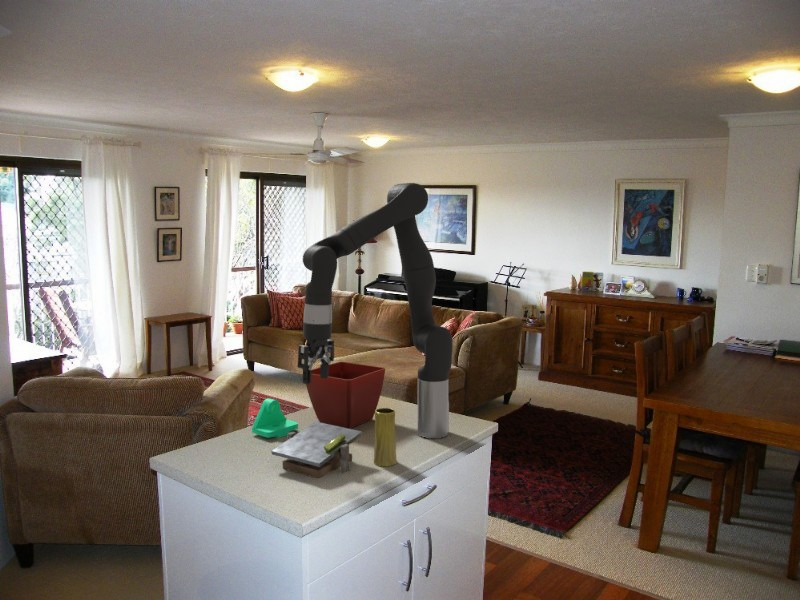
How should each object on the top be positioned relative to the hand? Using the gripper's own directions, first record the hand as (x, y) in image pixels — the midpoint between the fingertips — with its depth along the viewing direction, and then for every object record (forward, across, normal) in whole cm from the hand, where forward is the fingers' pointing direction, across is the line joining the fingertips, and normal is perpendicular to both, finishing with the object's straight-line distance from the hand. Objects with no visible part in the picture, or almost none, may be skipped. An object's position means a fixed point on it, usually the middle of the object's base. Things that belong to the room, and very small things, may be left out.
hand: (315, 380), depth 177 cm
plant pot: (+20, +32, +9) cm, 39 cm away
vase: (+21, +5, -19) cm, 29 cm away
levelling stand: (+21, -4, -4) cm, 22 cm away
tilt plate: (+15, -4, -4) cm, 16 cm away
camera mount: (+22, +13, +21) cm, 33 cm away
